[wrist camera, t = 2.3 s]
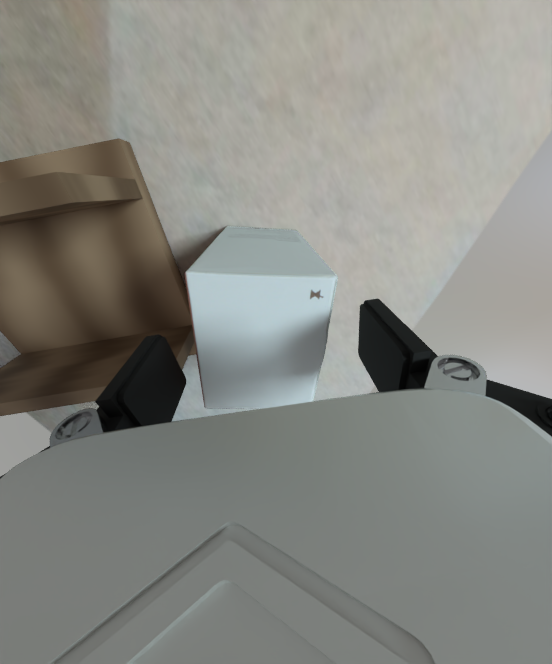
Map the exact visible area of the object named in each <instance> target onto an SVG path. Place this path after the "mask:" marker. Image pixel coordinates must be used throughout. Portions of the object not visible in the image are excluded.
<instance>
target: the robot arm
mask: <svg viewBox="0 0 552 664" xmlns="http://www.w3.org/2000/svg"><path fill="white" fill-rule="evenodd" d="M358 353H359V357H360V359H361V361H362V363H363V364H364V366H365V368H366V370H367V371H368V373H369V375H370V377H371V379H372V380H373V382H374V384H375V386H376V387H377V389H378V391H379V392H377V393H369V394H362V395H355V396H348V397H341V398H334V399H326V400H319V401H312V402H305V403H298V404H291V405H284V406H277V407H270V408H263V409H256V410H249V411H242V412H235V413H229V414H222V415H215V416H208V417H201V418H194V419H187V420H180V421H174V422H171V421H172V418H173V416H174V413H175V411H176V408H177V406H178V403H179V401H180V398H181V395H182V393H183V390H184V388H185V385H186V378H185V375H184V373H183V371H182V369H181V367H180V365H179V363H178V361H177V359H176V357H175V355H174V353H173V351H172V349H171V347H170V345H169V343H168V341H167V339H166V338H165V337H162V336H161V335H159V334H158V335H151V336H146V337H145V338H144V340H143V341H142V342H141V343H140V345H139V346H138V347H137V348H136V350H135V351H134V352H133V354H132V355H131V356H130V357H129V359H128V360H127V361H126V363H125V364H124V365H123V366H122V368H121V369H120V370H119V371H118V373H117V374H116V375H115V377H114V378H113V379H112V380H111V382H110V383H109V384H108V385H107V387H106V388H105V389H104V391H103V392H102V393H101V394H100V396H99V397H98V398H97V399H96V401H95V402H96V403H97V404H98V405H99V408H98V409H97V410H96V409H93V408H88V409H83V410H80V411H78V412H76V413H74V414H72V415H70V416H69V417H67V418H66V419H64V420H63V421H62V422H61V423H60V424H59V425H58V426H57V427H56V428H55V429H54V430H53V432H52V433H51V436H50V446H49V447H47V448H46V449H44V450H42V451H41V452H39V453H38V454H36V455H34V456H32V457H30V458H28V459H27V460H25V461H23V462H21V463H20V464H18V465H16V466H15V467H13V468H12V469H11V470H10V471H8V472H7V473H6V474H4V475H3V476H1V477H0V664H552V399H550V398H546V397H543V396H539V395H536V394H533V393H530V392H526V391H523V390H520V389H516V388H513V387H510V386H507V385H503V384H500V383H497V382H493V381H490V380H487V375H486V371H485V370H484V368H483V367H482V366H481V365H479V364H478V363H476V362H475V361H473V360H471V359H468V358H465V357H462V356H457V355H442V356H437V355H436V354H435V353H434V352H433V351H432V350H431V349H430V348H429V347H428V346H427V345H426V344H425V343H424V342H423V341H422V340H421V339H420V338H419V337H417V335H416V334H415V333H414V332H413V331H412V330H410V329H409V328H408V327H407V326H406V325H405V324H404V323H403V322H402V321H401V320H400V319H399V318H398V317H397V316H396V315H395V314H394V313H393V312H392V311H391V310H390V309H389V308H388V307H387V306H385V305H384V304H383V303H382V302H381V301H380V300H379V299H372V300H366V301H365V302H364V304H361V305H360V321H359V346H358Z"/></svg>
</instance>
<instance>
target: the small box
mask: <svg viewBox="0 0 552 664" xmlns="http://www.w3.org/2000/svg"><path fill="white" fill-rule="evenodd" d="M337 279H338V277H337V275H336V274H335V273H334V272H333V271H332V270H331V268H330V267H329V266H328V265H327V264H326V263H325V261H324V260H323V259H322V258H321V257H320V256H319V255H318V254H317V252H316V251H315V250H314V249H313V248H312V247H311V246H310V245H309V243H308V242H307V241H306V240H305V239H304V238H303V236H302V235H301V234H300V233H299V232H298V231H297V230H284V229H267V228H251V227H234V226H227V227H226V228H225V229H224V230H223V231H222V232H221V233H220V234H219V235H218V236H217V237H216V239H215V240H214V241H213V242H212V243H211V244H210V245H209V246H208V248H207V249H206V250H205V251H204V252H203V253H202V254H201V255H200V256H199V258H198V259H197V260H196V261H195V262H194V263H193V264H192V266H191V267H190V268H189V269H188V270H187V271H186V272H185V281H186V288H187V295H188V301H189V308H190V314H191V321H192V327H193V335H194V341H195V348H196V355H197V361H198V368H199V374H200V381H201V387H202V394H203V400H204V407H205V408H208V409H263V408H270V407H277V406H284V405H291V404H298V403H305V402H312V401H313V400H314V396H315V391H316V387H317V382H318V378H319V373H320V369H321V365H322V362H323V358H324V354H325V349H326V343H327V337H328V328H329V323H330V317H331V312H332V307H333V301H334V296H335V291H336V286H337Z"/></svg>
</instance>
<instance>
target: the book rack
mask: <svg viewBox="0 0 552 664" xmlns="http://www.w3.org/2000/svg"><path fill="white" fill-rule="evenodd" d="M0 331H1V332H2V333H3V334H4V336H5V337H6V338H7V339H8V340H9V341H10V342H11V343H12V344H13V345H14V346H15V347H16V349H17V350H18V351H19V352H20V353H21V355H19V356H18V357H16V358H15V359H13V360H12V361H10V362H9V363H7V364H6V365H4V366H3V367H2V368H0V416H4V415H10V414H16V413H22V412H29V411H35V410H41V409H48V408H54V407H60V406H66V405H73V404H79V403H85V402H91V401H96V399H97V398H98V397H99V396H100V394H101V393H102V392H103V391H104V389H105V388H106V387H107V385H108V384H109V383H110V382H111V380H112V379H113V378H114V377H115V375H116V374H117V373H118V371H119V370H120V369H121V368H122V366H123V365H124V364H125V363H126V361H127V360H128V359H129V357H130V356H131V355H132V354H133V352H134V351H135V350H136V348H137V347H138V346H139V345H140V343H141V342H142V341H143V340H144V338H145V337H146V336H151V335H158V334H159V335H161V336H162V337H165V338H166V339H167V341H168V343H169V345H170V347H171V349H172V351H173V353H174V355H175V357H176V359H177V361H178V363H179V365H180V367H181V369H183V367H184V364H185V362H186V360H187V358H188V355H194V354H196V348H195V341H194V335H193V327H192V321H191V314H190V308H189V301H188V295H187V290H186V288H185V285H184V283H183V280H182V277H181V275H180V272H179V270H178V267H177V264H176V262H175V259H174V257H173V254H172V251H171V249H170V246H169V244H168V241H167V238H166V236H165V233H164V231H163V228H162V225H161V223H160V220H159V218H158V215H157V212H156V210H155V207H154V205H153V202H152V199H151V197H150V194H149V192H148V189H147V186H146V184H145V181H144V179H143V176H142V173H141V171H140V168H139V166H138V163H137V160H136V158H135V155H134V153H133V150H132V147H131V145H130V143H129V142H127V141H124V140H121V139H114V140H109V141H104V142H99V143H94V144H89V145H84V146H79V147H74V148H69V149H64V150H59V151H54V152H49V153H44V154H39V155H34V156H29V157H25V158H20V159H15V160H10V161H5V162H0Z"/></svg>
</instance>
